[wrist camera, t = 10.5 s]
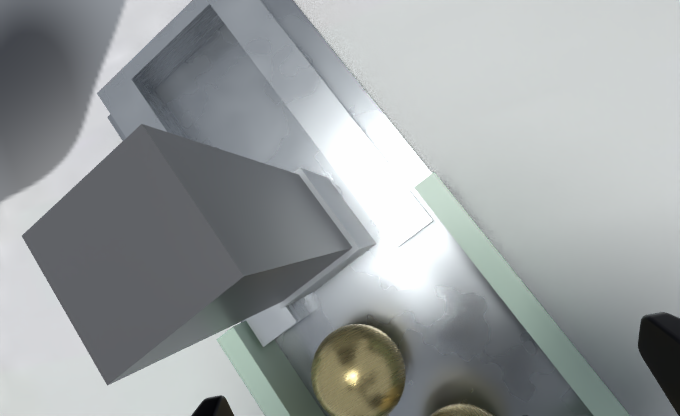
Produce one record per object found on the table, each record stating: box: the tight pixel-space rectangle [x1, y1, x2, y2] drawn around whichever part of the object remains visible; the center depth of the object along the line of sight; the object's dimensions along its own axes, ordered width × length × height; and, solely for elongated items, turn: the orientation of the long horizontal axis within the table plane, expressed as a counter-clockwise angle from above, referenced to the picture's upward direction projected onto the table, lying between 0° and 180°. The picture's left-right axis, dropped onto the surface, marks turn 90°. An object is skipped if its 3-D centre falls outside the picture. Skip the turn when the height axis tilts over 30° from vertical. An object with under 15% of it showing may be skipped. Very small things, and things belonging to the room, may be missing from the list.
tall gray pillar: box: [22, 124, 377, 385], centre depth 15 cm, size 4×4×13 cm
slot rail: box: [97, 0, 593, 416], centre depth 20 cm, size 27×12×2 cm, turn 37°
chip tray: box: [217, 172, 630, 416], centre depth 18 cm, size 13×12×3 cm
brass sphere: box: [311, 324, 406, 416], centre depth 18 cm, size 4×4×4 cm
